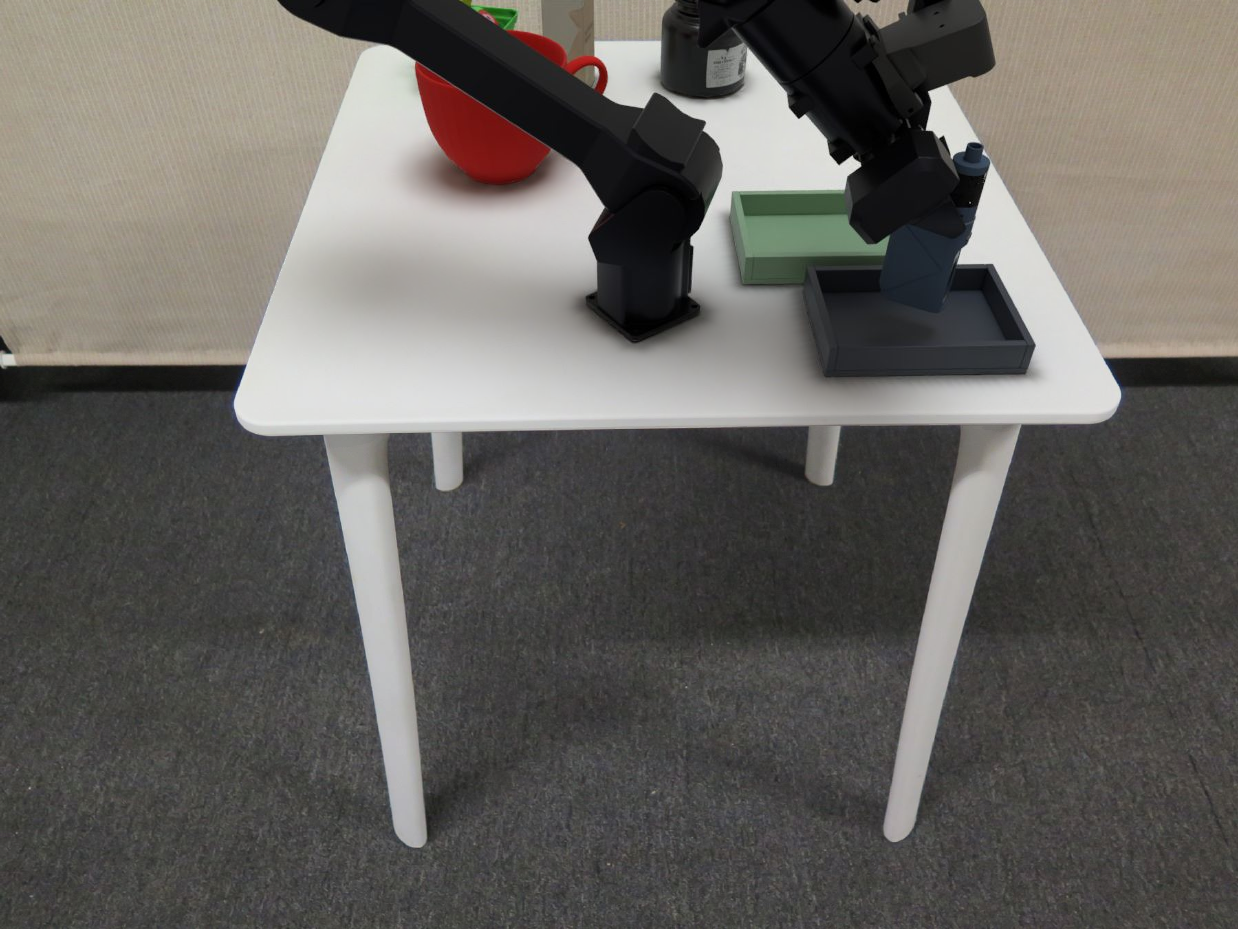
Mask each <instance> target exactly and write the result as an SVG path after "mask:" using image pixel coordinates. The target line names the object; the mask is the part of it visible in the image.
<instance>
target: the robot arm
mask: <svg viewBox="0 0 1238 929" xmlns="http://www.w3.org/2000/svg"><path fill="white" fill-rule="evenodd" d="M853 1H854V2H855V3H856V4H859V3H861V2H862V1H863V0H853ZM868 1H869V2H871V3H874V4H878V3H879V2H880V1H881V0H868ZM276 2H278V4H279V5H280V6H281V7H282V8H283V9H285V11H287V12H288V13H290V14H291V15H292V16H294V17H296V18H297V19H300V20H301V21H303V22H305V23H308V24H310V25H313V26H314V27H316V28H319V29H321V30H323V31H325V32H328V33H330V34H332V35H335V36H337V37H339V38H342V39H347V40H353V41H359V42H365V43H371V44H377V45H383V46H387V47H391V48H393V49H395V50H397V51H399V52H400V53H401V54H403V55H405V56H406V57H408V58H409V59H411V60H413V61H414V62H415V61H416V62H417V63H419V64H420V65H422V66H424V67H425V68H427V69H428V70H430V71H431V72H433V73H434V74H436V75H438V76H439V77H441V78H442V79H444V80H445V81H447V82H448V83H450V84H451V85H453V86H455V87H456V88H458V89H459V90H461V91H462V92H464V93H465V94H467V95H468V96H470V97H472V98H473V99H475V100H476V101H478V102H479V103H481V104H482V105H484V106H485V107H487V108H489V109H490V110H492V111H493V112H495V113H496V114H498V115H499V116H501V117H502V118H504V119H506V120H507V121H509V122H510V123H512V124H513V125H515V126H516V127H518V128H519V129H521V130H523V131H524V132H526V133H527V134H529V135H530V136H532V137H533V138H535V139H536V140H538V141H540V142H541V143H543V144H544V145H546V146H547V147H549V148H550V149H551V150H552V151H553V152H554V153H556V154H558V155H560V156H561V157H563V158H564V159H566V160H567V161H569V162H570V163H572V164H573V165H575V167H577V169H578V170H580V172H581V173H582V175H583V176H584V177H585V180H586V181H587V182H588V184H589V185H590V187H591V189H592V190H593V192H594V193H595V195H596V196H597V198H598V200H599V202H600V203H601V204H602V206H603V207H604V208H603V209H602V211H601V213H600V215H599V217H598V218H597V220H596V221H595V223H594V225H593V227H592V229H591V231H590V232H589V233H588V236H587V240H588V243H589V245H590V249H591V250H592V253H593V256H594V258H595V261H596V291H594V292H591V293H588V294H587V295H585V297H584V298H585V304H586V306H588V307H590V308H591V309H592V310H593V311H594V312H595V313H596V314H598V315H599V316H600V317H602V318H603V319H604V320H605V321H607V323H609V324H610V325H611V326H613V327H614V328H615V329H616V330H618V331H619V332H620V333H621V334H622V335H624V336H625V337H626V338H628V340H630V341H633V342H640V341H641V340H643V339H646V338H648V337H650V336H652V335H655V334H657V333H659V332H661V331H663V330H665V329H668V328H670V327H673V326H674V325H677V324H679V323H681V322H683V321H686V320H688V319H691V318H693V317H695V316H697V315H699V314H701V310H702V306H701V304H700V303H699V302H697V301H695V300H694V299H693V298H692V297H690V296H689V294H691V293H692V285H693V284H692V283H693V281H692V280H693V268H694V267H693V265H694V252H695V251H694V249H695V247H694V245H692V244H691V242H692V241H691V240H692V239H691V238H692V237H693V236H694V235H695V234H696V233H697V232H698V231H699V230H700V228H701V226H702V224H703V222H704V220H705V218H706V215H707V213H708V211H709V208H710V206H711V204H712V201H713V199H714V197H715V194H716V192H717V189H718V187H719V185H720V182H721V179H722V178H723V171H724V170H723V169H724V164H723V159H722V155H721V148H720V147H719V145H718V143H717V142H716V140H715V139H714V138H713V137H711V136H710V135H709V134H708V132H706V131H704V129H705V127H706V124H707V122H706V120H704V119H700V118H696V117H692V116H690V115H689V114H686V113H685V112H683V111H681V109H680V108H678V107H677V106H676V105H675V104H674V103H673V102H672V101H671V100H670V99H668V98H667V97H666V96H664V95H663V94H661V93H659V92H653V93H652V94H651V96H650V98H649V100H648V101H647V103H646V105H645V106H644V107H638V106H632V105H626V104H622V103H618V102H616V101H613V100H611V99H610V98H608V97H607V96H606V95H605V94H603V95H602V94H601V93H599V92H598V91H596V90H595V89H594V88H593V87H592V86H591V87H590V86H589V85H587V84H586V83H584V82H583V81H581V80H580V79H578V78H577V77H575V76H574V75H572V74H571V73H569V72H568V71H566V70H564V69H563V68H561V67H560V66H558V65H557V64H555V63H554V62H552V61H551V60H549V59H548V58H546V57H545V56H543V55H542V54H540V53H539V52H537V51H536V50H534V49H533V48H531V47H530V46H528V45H527V44H525V43H524V42H522V41H521V40H519V39H518V38H516V37H515V36H513V35H512V34H510V33H509V32H507V31H506V30H504V29H503V28H501V27H500V26H498V25H497V24H495V23H494V22H492V21H491V20H489V19H488V18H486V17H485V16H483V15H482V14H480V13H478V12H477V11H475V10H474V9H472V8H471V7H469V6H468V5H466V4H465V3H463V2H462V1H460V0H276ZM697 7H698V12H699V32H698V38H697V46H698V47H699V48H700V49H706V48H708V47H709V46H710V45H711V44H713V43H714V42H715V41H716V40H717V39H719V38H720V37H721V36H722V35H723V34H725V33H726V32H727V31H728V30H730V29H732V30H733V31H734V32H735V33H736V35H737V36H738V37H739V38H740V39H741V40H742V42H743V43H744V44H745V45H746V46H747V50H749V51H750V52H751V53H752V55H754V57H755V58H756V59H757V60H758V62H759V63H760V64H761V65H762V66H763V67H764V68H765V70H766V71H767V72H768V73H769V75H771V77H772V78H773V79H774V80H775V82H777V84H779V86H780V87H781V88H782V89H783V90H784V91H785V93H786V98H787V105H788V109H789V110H790V111H791V113H793V115H794V116H795V117H796V118H797V119H798V120H800V119H802V117H804V116H806V117H807V118H808V119H809V121H810V122H811V123H812V124H813V125H814V126H815V128H816V129H817V130H818V131H819V132H820V134H822V135H823V137H824V138H825V139H826V143H827V148H828V154H829V156H830V157H831V158H832V160H833V161H834V162H835V163H836V164H837V166H841V165H842V164H843V163H845V162H846V161H847V160H849V159H850V158H851V157H852V158H853V159H854V160H855V161H856V162H858V163H860V166H858V168H857V169H854V170H853V172H851V173H850V174H848V175H847V176H846V181H845V186H844V190H845V191H844V200H845V205H846V211H847V216H848V221H849V225H850V226H851V227H852V228H853V229H854V230H855V231H856V233H857V234H858V235H859V236H860V237H861V238H862V239H863V240H864V241H865V243H866V244H867V245H869V244H877V243H879V242H880V241H882V240H883V239H885V238H886V237H887V236H889V235H890V234H892V233H893V232H895V231H896V230H898V229H899V228H900V227H902V226H903V225H905V224H909V225H913V226H916V227H919V228H921V229H924V230H927V231H930V232H933V233H936V234H939V235H942V236H945V237H948V238H950V239H955V238H957V237H958V236H960V235H961V234H963V233H964V232H965V231H966V225H965V223H964V221H963V219H962V217H961V215H960V213H959V211H958V209H957V207H956V205H955V203H954V201H953V199H952V197H951V195H950V193H951V192H953V190H954V189H955V187H956V186H957V184H958V183H959V181H960V180H959V177H958V174H957V171H956V169H955V166H954V163H953V160H952V159H953V157H952V155H951V151H950V148H949V145H948V143H947V140H946V137H945V135H942V136H940V137H938V136H937V134H936V132H934V130H927V128H928V127H927V126H928V122H929V119H930V118H929V117H930V112H931V108H932V99H931V96H930V93H929V92H931V91H934V90H937V89H939V88H942V87H945V86H947V85H950V84H953V83H955V82H958V81H961V80H964V79H966V78H970V77H971V78H978V77H981V76H983V75H986V74H988V73H989V72H991V71H992V70H993V69H994V68H995V66H996V64H997V61H996V57H995V51H994V47H993V46H994V45H993V42H992V36H991V30H990V25H989V22H988V20H989V19H988V16H987V12H986V10H985V8H984V6H983V4H982V3H981V0H908V4H907V8H906V11H902V12H899V13H898V14H897V16H898V20H896V21H894V22H892V23H890V24H888V25H887V24H886V26H884V27H881V28H880V27H879V26H878V25H877V24H876V22H875V21H874V20H873V18H872V17H871V16H870V15H869V14H868V13H867V14H865V15H864V16H863V14H862V13H861V12H860V11H858V12H857V13H856V14H855V13H854V12H853V10H852V9H851V8H850V7H849V5H848V4H847V3H846V1H844V0H697Z"/></svg>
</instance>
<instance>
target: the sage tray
mask: <svg viewBox="0 0 1238 929" xmlns="http://www.w3.org/2000/svg"><path fill="white" fill-rule="evenodd" d="M844 191H845V189H798V190H796V189H795V190H791V189H790V190H787V189H786V190H732V191H731V196H730V197H731V198H730V208H729V209H730V210H729V221H730V225H731V231H732V236H733V240H734V246H735V251H736V256H737V260H738V265H739V271H740V275H741V280H742V284H743V285H791V284H792V285H794V284H798V285H799V284H801V285H802V284H803V285H804V280H805V273H806V267H807V266H814V267H815V266H870V265H883V263H884V259H885V254H886V250H887V245H888V241H889V237H890V235H889V236H887V237H886V238H885V239H883V240H882V241H880V242H879V243H877V244H869V245H867V244H866V243H865V241H864V240H863V239H862V238H861V237H860V236H859V235H858V234H857V233H856V231H855V230H854V229H853V228H852V227H851V226H850V225H849V221H848V216H847V211H846V205H845V200H844Z"/></svg>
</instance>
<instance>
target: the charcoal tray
mask: <svg viewBox="0 0 1238 929" xmlns="http://www.w3.org/2000/svg"><path fill="white" fill-rule="evenodd" d="M882 267H883V265H870V266H815V267H814V266H807V267H806V273H805V280H804V284H803V288H802V297H803V301H804V305H805V308H806V312H807V316H808V319H809V323H810V327H811V330H812V334H813V337H814V341H815V346H816V348H817V352H818V356H819V360H820V364H821V367H822V371H823V374H824V377H878V376H879V377H880V376H938V375H940V376H944V375H945V376H947V375H1003V374H1004V375H1005V374H1006V375H1008V374H1027V372H1028V368H1029V366H1030V363H1031V361H1032V358H1033V355H1034V352H1035V349H1036V346H1037V345H1036V342H1035V340H1034V339H1033V336H1032V335H1031V333H1030V330H1029V329H1028V327H1027V325H1026V323H1025V321H1024V319H1023V318H1022V316H1021V314H1020V312H1019V310H1018V308H1017V306H1016V304H1015V303H1014V300H1013V299H1012V297H1011V295H1010V293H1009V291H1008V290H1007V288H1006V286H1005V284H1004V282H1003V280H1002V278H1001V276H1000V274H999V273H998V271H997V269H996V267H995V265H994V263H957V266H956V270H955V273H954V277H953V280H952V284H951V287H950V291H949V294H948V298H947V300H946V301H947V304H946V307H945V309H944V310H942V311H941V312H939V313H931V312H927V311H923V310H920V309H917V308H914V307H910V306H907V305H904V304H901V303H897V302H894V301H891V300H888V299H886V298H884V297H883V296H882V294H881V288H880V283H879V280H880V276H881V272H882Z"/></svg>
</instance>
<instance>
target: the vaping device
mask: <svg viewBox="0 0 1238 929" xmlns="http://www.w3.org/2000/svg"><path fill="white" fill-rule="evenodd" d="M984 150H985V146H984V144H982V143H981V142H976V141H970V142H968V143H966V147H965V150H964V151H958V152H956V153H954V154H953V156H952V160H953V163H954V166H955V169H956V171H957V174H958V177H959V180H960V181H959V183H958V184H957V186H956V187H955V189H954V190H953V192H951V193H950V195H951V197H952V199H953V201H954V203H955V205H956V207H957V209H958V211H959V213H960V215H961V217H962V219H963V221H964V223H965V225H966V231H965V232H964V233H963V234H961V235H960V236H958V237H957V238H955V239H950V238H948V237H945V236H942V235H939V234H936V233H933V232H930V231H927V230H924V229H921V228H919V227H916V226H913V225H909V224H905V225H903V226H902V227H900V228H899V229H898V230H896V231H895V232H893V233H892V234H890V237H889V241H888V245H887V250H886V254H885V259H884V263H883V267H882V272H881V276H880V280H879V283H880V288H881V294H882V296H883V297H884V298H886V299H888V300H891V301H894V302H897V303H901V304H904V305H907V306H910V307H914V308H917V309H920V310H923V311H927V312H931V313H939V312H941V311H942V310H944V309H945V307H946V304H947V301H946V300H947V298H948V294H949V291H950V287H951V284H952V280H953V277H954V273H955V270H956V266H957V264H959V263H958V262H959V259H960V255H961V252H962V249H963V248H965V247H966V246H968V244H969V241H970V239H971V238H972V234H973V232H972V230H973V228H974V224H975V221H976V218H977V216H976V215H977V211H978V208H979V204H980V201H981V197H982V194H983V191H984V186H985V184H986V181H987V178H988V177H987V176H988V172H989V170H990V166H991V160H990V158H989V157H988V156H986V155H985V154H983V152H984Z"/></svg>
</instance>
